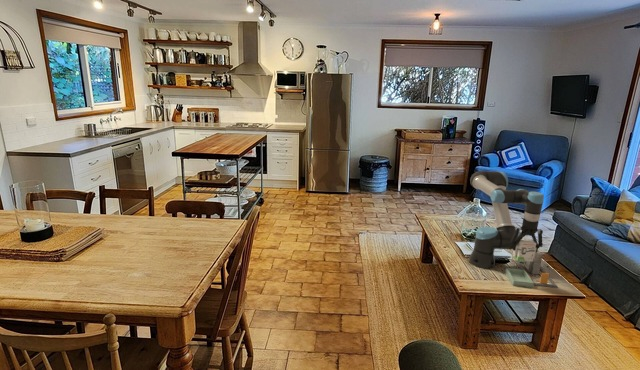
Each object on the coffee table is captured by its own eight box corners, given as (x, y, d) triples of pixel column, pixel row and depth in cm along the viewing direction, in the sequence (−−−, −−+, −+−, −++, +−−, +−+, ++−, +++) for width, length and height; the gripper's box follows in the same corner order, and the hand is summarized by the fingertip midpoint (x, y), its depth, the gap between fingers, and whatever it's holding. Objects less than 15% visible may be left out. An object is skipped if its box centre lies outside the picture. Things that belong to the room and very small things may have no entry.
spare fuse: (529, 271, 221) (533, 254, 218) (524, 264, 230) (527, 247, 226) (538, 272, 220) (542, 255, 217) (532, 265, 229) (536, 248, 225)
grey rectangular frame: (531, 284, 207) (534, 274, 205) (515, 261, 234) (517, 251, 232) (557, 287, 205) (560, 276, 203) (537, 263, 232) (540, 253, 230)
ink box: (517, 261, 206) (521, 242, 202) (513, 257, 210) (517, 238, 207) (532, 261, 206) (536, 242, 202) (528, 257, 210) (532, 239, 207)
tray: (512, 285, 206) (513, 280, 205) (504, 272, 220) (505, 268, 219) (532, 287, 204) (533, 283, 203) (523, 274, 218) (524, 270, 217)
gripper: (512, 220, 199) (505, 257, 206) (555, 223, 196) (546, 261, 202) (508, 215, 206) (501, 251, 213) (549, 218, 203) (541, 255, 209)
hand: (523, 256), depth 208 cm, fingers closed on ink box, 9 cm apart
